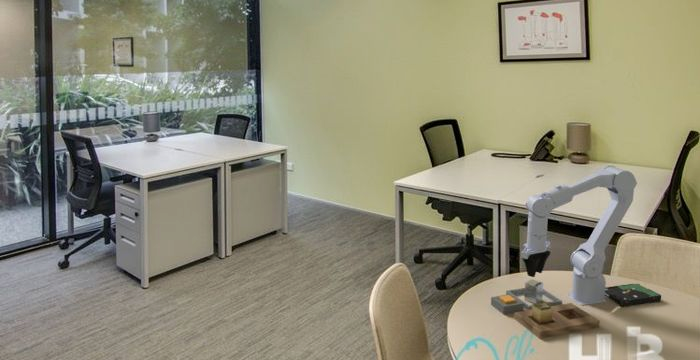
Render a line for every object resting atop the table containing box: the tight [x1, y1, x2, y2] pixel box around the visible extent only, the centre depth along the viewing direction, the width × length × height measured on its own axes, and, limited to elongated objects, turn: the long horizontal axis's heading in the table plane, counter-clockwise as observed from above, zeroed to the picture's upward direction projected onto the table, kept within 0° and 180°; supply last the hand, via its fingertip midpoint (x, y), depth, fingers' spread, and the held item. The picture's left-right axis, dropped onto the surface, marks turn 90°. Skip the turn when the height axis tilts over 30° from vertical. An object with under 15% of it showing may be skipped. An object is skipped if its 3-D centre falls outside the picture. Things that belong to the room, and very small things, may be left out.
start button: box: [499, 294, 516, 304], centre depth 159 cm, size 4×4×3 cm
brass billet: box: [531, 302, 553, 325], centre depth 147 cm, size 4×4×6 cm
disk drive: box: [604, 283, 662, 308], centre depth 165 cm, size 10×3×15 cm
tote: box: [505, 287, 563, 311], centre depth 164 cm, size 12×12×2 cm
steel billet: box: [523, 279, 544, 304], centre depth 163 cm, size 4×4×6 cm
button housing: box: [490, 294, 524, 315], centre depth 159 cm, size 7×7×3 cm
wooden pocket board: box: [513, 302, 601, 340], centre depth 149 cm, size 20×12×2 cm, turn 106°
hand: (534, 274), depth 162 cm, fingers open, 4 cm apart
